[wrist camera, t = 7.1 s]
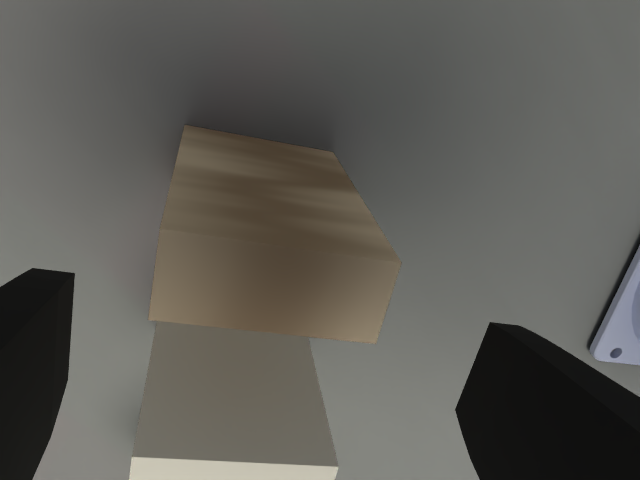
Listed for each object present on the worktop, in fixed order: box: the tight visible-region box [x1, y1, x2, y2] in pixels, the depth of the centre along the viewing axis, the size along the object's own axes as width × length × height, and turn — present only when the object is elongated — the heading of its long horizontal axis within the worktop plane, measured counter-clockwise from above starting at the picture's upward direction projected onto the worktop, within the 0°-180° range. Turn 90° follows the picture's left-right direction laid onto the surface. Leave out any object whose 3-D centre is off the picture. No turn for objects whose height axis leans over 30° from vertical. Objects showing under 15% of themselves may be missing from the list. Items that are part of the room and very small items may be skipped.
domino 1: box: [148, 125, 401, 344], centre depth 15 cm, size 5×2×8 cm, turn 77°
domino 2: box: [129, 321, 339, 480], centre depth 17 cm, size 5×2×8 cm, turn 77°
